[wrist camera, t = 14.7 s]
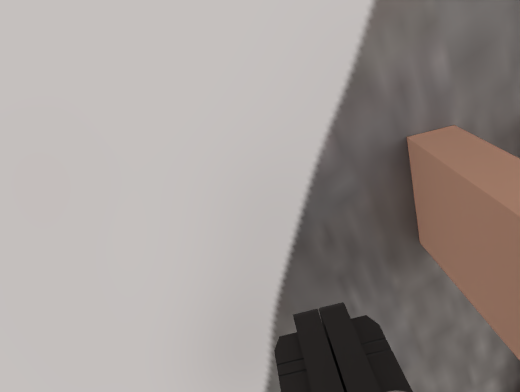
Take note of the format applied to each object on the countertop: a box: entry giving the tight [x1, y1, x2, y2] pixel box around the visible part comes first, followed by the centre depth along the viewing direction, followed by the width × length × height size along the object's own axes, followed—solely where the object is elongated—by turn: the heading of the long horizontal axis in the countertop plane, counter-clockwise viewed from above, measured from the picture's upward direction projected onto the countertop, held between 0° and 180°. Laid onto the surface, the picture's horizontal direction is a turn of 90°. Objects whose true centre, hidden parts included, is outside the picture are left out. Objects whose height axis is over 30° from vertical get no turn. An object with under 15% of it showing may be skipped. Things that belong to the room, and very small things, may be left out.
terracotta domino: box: [407, 125, 520, 360], centre depth 16 cm, size 2×5×10 cm, turn 13°
